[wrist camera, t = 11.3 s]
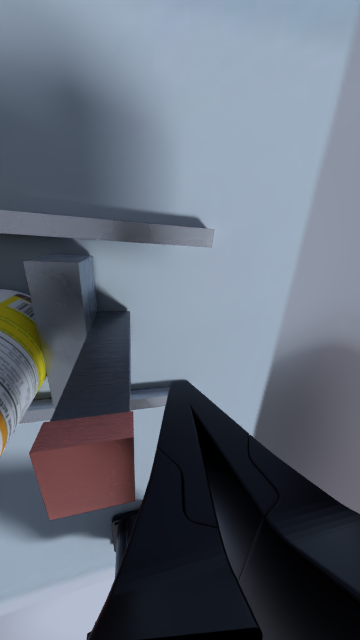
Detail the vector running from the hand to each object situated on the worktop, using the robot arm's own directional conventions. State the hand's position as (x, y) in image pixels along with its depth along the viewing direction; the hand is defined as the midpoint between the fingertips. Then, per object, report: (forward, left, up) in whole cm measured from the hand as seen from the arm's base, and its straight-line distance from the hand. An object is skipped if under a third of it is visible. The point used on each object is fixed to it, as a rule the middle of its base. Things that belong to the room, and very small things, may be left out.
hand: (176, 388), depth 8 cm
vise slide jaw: (0, +4, -6) cm, 7 cm away
